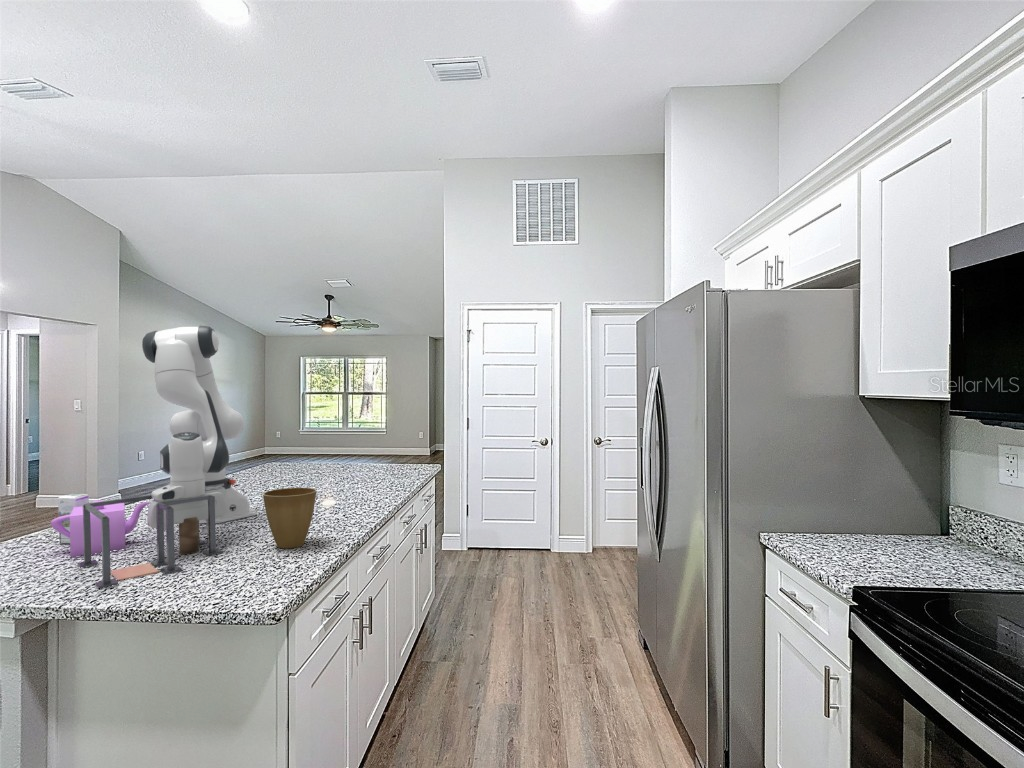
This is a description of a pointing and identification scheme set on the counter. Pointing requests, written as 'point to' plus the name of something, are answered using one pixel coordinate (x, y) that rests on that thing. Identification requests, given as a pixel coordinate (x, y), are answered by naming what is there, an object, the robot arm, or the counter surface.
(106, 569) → the dark grey bar frame
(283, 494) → the plant pot
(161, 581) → the counter surface
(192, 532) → the walnut cylinder
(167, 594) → the counter surface
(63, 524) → the syrup box
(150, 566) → the tile
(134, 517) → the teapot
